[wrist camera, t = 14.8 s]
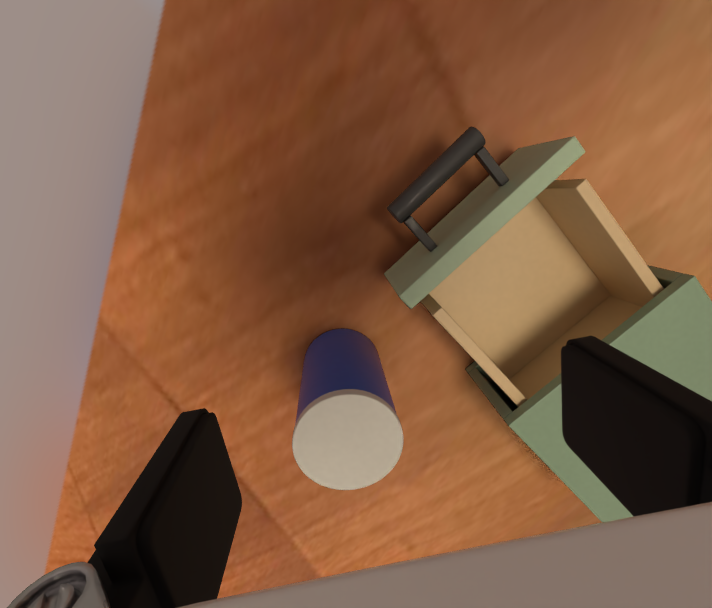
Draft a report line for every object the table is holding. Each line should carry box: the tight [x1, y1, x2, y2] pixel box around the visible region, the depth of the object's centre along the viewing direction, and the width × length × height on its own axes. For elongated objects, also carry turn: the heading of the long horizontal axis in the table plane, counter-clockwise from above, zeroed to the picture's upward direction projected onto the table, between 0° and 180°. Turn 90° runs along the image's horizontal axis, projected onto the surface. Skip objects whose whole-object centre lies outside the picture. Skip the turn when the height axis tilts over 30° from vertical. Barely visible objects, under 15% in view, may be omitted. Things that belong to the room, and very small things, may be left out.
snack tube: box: [292, 329, 403, 490], centre depth 28 cm, size 6×6×11 cm
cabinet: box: [466, 265, 712, 523], centre depth 31 cm, size 16×15×9 cm
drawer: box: [384, 127, 664, 407], centre depth 27 cm, size 19×13×7 cm
